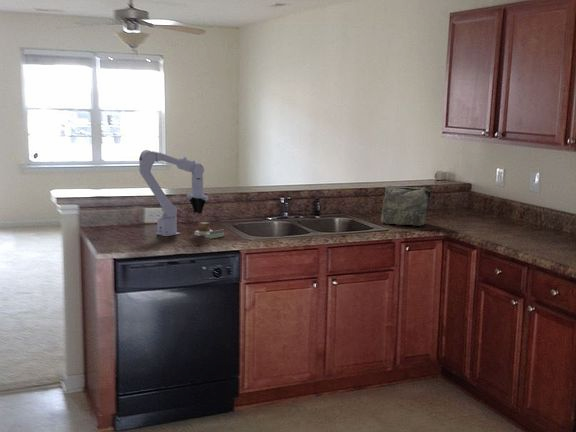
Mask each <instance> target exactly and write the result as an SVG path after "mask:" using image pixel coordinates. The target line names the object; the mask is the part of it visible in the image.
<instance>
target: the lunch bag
mask: <svg viewBox="0 0 576 432" xmlns="http://www.w3.org/2000/svg"><path fill="white" fill-rule="evenodd" d="M383 188H384V198H383V203H382V208H381V220H380V222H381V223H382V224H384V223H385V224H384V225H389V224H396V225H395V226H401V225H413V226H412V227H415V226H419V227H422V225H423V226H424V225H426V219H427V207H428V198H431V191H430V189H428V188H426V187H413V186H412V187H411V186H409V187H408V186H393V185H387V186H386V187H383Z"/></svg>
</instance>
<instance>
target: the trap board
mask: <svg viewBox="0 0 576 432" xmlns="http://www.w3.org/2000/svg"><path fill="white" fill-rule="evenodd" d="M194 236H196V237H197V236H198V237H201V238H205V239H210V240H211V239H216V238H222V237H225V229H224V228H223V229H217V230H213V229H210V231H205V232H203V231H199V230H194Z"/></svg>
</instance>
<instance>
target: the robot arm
mask: <svg viewBox="0 0 576 432" xmlns="http://www.w3.org/2000/svg"><path fill="white" fill-rule="evenodd" d="M138 158H139V159H138V160H139V162H138V163H139V174H140V175H141V177H142V178H143V180H144V181H145V183H146V184H147V186H148V188H149V189H150V190H151V192H152V193H153V195H154V198H156V200H157V202H158V203H159V205H160V207H161V211H162V216H161V217H160V218H158V219H157V222H156V235H160V236H164V237H169V236H177V235H181V232H177V231H178V229H177V228H178V225H177V224H178V223H177V222H178V221H177V220H178V217H177V214H178V208H177V206H175V205H174V204H173V203H172V202H171V201H170V199H169V198H168V197H167V195H166V194H165V192H164V191H163V189H162V187H161V186H160V184H159V183H158V180H156V178H155V176H154V175H153V173H152V172H151V171H152V167H153V165H154V164H155V162H157V163H158V162H161V161H162V162H165V163H168V164H172V165H175V166H176V168H177V169H179V170H182V171H185V172H188V173H191V193H186V197H187V199H188V198H189V203H190V204H191V206H192V209H193V213H194V214H195V213H197V214H203V210H204V206H205V203H206V202H207V201H209V199H210V198H209V195H205V194H204V178H203V177H204V176H203V175H204V172H205V168H204V166H203V164H201V163H199V162H197V161H196V160H190V159H188V158H187V157H184V156H183V157H179V158H176V157H173V156H171V155H167V154H165V153H162V152H158V151H153V150H152V151H151V150H149V149H145V150H142V152H140V155H139V157H138Z"/></svg>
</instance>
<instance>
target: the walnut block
mask: <svg viewBox="0 0 576 432" xmlns="http://www.w3.org/2000/svg"><path fill="white" fill-rule="evenodd" d="M210 230H211V222H206V221H201V222H198V231H203V232H205V231H210Z"/></svg>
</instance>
